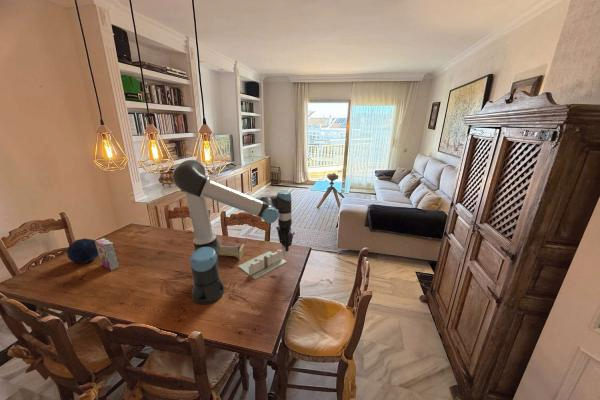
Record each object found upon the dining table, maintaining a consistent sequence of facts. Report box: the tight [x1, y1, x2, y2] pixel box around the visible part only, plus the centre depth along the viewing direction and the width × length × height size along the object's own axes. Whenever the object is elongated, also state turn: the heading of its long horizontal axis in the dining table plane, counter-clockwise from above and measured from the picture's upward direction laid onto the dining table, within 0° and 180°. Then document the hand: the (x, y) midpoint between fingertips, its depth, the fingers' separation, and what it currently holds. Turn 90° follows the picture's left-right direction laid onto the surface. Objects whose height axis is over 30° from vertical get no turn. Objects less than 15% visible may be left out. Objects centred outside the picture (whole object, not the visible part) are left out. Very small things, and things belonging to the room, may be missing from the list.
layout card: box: [237, 250, 288, 280], centre depth 143 cm, size 24×17×1 cm
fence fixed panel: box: [249, 256, 267, 276], centre depth 135 cm, size 12×2×7 cm, turn 136°
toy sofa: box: [218, 243, 245, 261], centre depth 150 cm, size 21×9×10 cm, turn 86°
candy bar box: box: [94, 237, 121, 272], centre depth 136 cm, size 11×5×16 cm, turn 59°
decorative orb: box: [66, 238, 99, 264], centre depth 142 cm, size 14×15×15 cm
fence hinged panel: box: [267, 249, 283, 266], centre depth 143 cm, size 11×1×7 cm, turn 136°
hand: (285, 255), depth 139 cm, fingers closed
